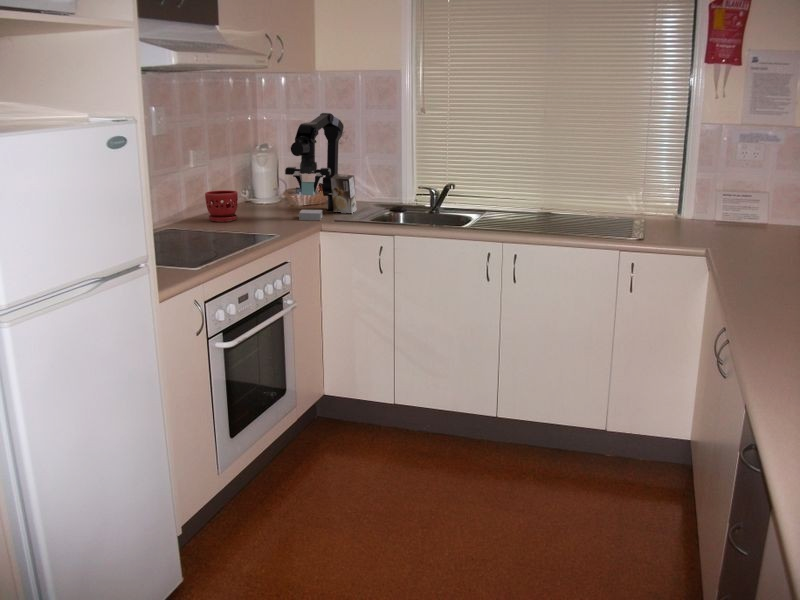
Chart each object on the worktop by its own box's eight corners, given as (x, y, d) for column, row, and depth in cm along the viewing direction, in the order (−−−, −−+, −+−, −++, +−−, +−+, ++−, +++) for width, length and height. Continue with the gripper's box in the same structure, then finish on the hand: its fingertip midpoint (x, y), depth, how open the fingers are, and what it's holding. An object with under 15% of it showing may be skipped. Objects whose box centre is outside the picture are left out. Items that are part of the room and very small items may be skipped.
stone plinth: (301, 216, 346) (301, 209, 345) (322, 216, 346) (322, 210, 345) (299, 220, 337) (299, 213, 336) (320, 220, 337) (320, 213, 337)
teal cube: (303, 193, 342) (303, 181, 341) (314, 193, 342) (314, 181, 341) (301, 194, 337) (301, 182, 336) (313, 195, 337) (313, 183, 336)
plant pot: (242, 218, 339) (241, 189, 336) (233, 223, 327) (232, 194, 323) (212, 217, 340) (211, 188, 337) (201, 222, 328) (200, 193, 325)
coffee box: (357, 209, 360) (355, 175, 353) (351, 214, 354) (349, 179, 347) (338, 208, 362) (335, 173, 356) (332, 212, 357) (330, 177, 350)
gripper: (282, 155, 328) (283, 193, 332) (328, 156, 328) (328, 194, 332) (286, 153, 339) (287, 190, 343) (331, 154, 338) (331, 191, 342)
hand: (308, 191), depth 339 cm, fingers closed on teal cube, 5 cm apart
